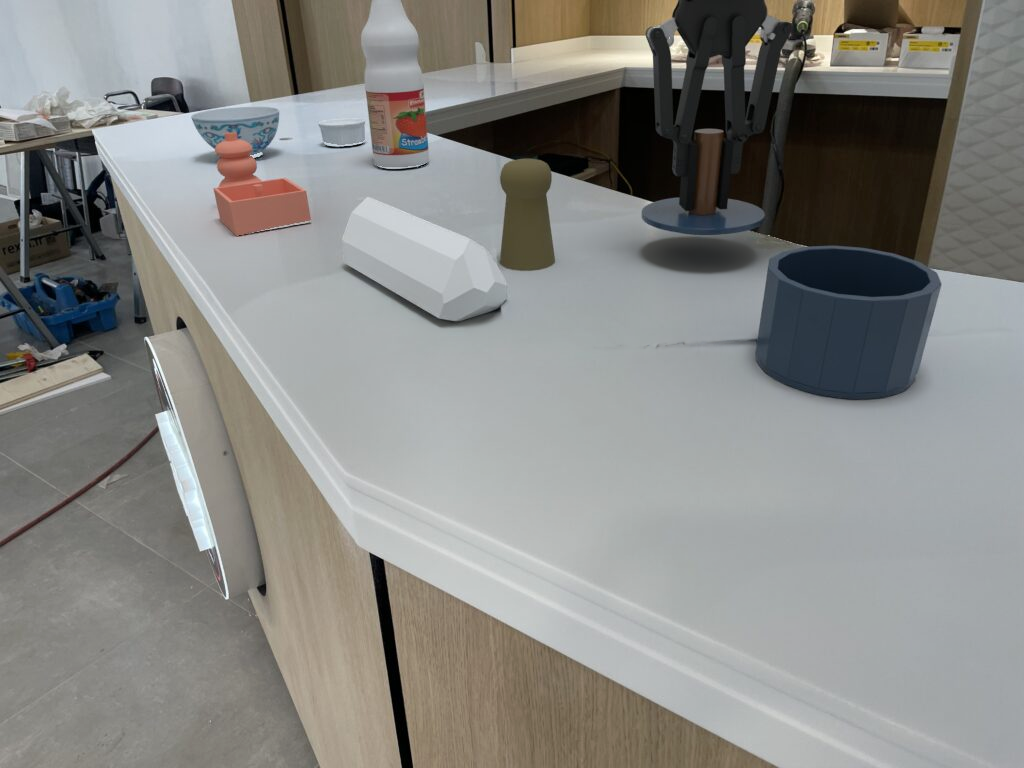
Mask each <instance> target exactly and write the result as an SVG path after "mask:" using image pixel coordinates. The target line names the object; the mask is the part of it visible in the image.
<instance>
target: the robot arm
mask: <svg viewBox="0 0 1024 768" xmlns="http://www.w3.org/2000/svg"><path fill="white" fill-rule="evenodd" d="M759 29H760V34H759V39H760V41H761V44H760V47H759V50H758V55H757V59H756V65H755V69H754V75H753V80H752V84H751V88H750V95H749V99H748V104H747V109H746V90H745V89H746V88H745V87H746V86H745V65H746V62H747V60H746V59H747V57H746V55H747V54H746V47H747V46H748V44H749V43H750V41H751V40H752V39H753V38H754V36H755V35H756V34H757V32H758V30H759ZM676 31H677V32H678V35H679V36H680V37H681V39H682V41H683V43H684V44H685V46H686V47H687V49H688V50H687V54H686V60H685V66H686V67H685V71H684V77H683V82H682V87H681V92H680V97H679V101H678V107H677V112H676V117H675V123H674V103H673V102H674V101H673V99H674V98H673V97H674V96H673V71H672V70H673V69H672V65H673V64H672V53H671V47H672V46H673V45H674V42H675V33H676ZM792 33H793V24H792V23H791V22H789V21H783V20H780V19H778V18H775V17H774V16H772V15H770V14H769V13H768V6H767V4H766V1H765V0H677V3H676V6H675V8H674V9H673V11H672V13H671V17H670V18H669V19H667V20H665V21H663V22H661V23H660V24H658V25H656V26H649V27H648V28H647V29H646V30H645V34H644V35H645V38H646V41H647V43H648V46H649V48H650V51H651V53H652V69H653V70H652V71H653V72H652V73H653V96H654V98H653V99H654V119H655V121H654V122H655V131H656V133H657V134H659V135H660V136H661V137H662V138H664V139H668V140H671V141H672V142H673V148H672V149H673V150H672V164H671V165H672V167H671V170H672V173H673V174H674V175H675V176H676V178H677V177H680V184H679V185H680V186H679V197H680V198H679V205H680V206H681V207H682V208H683V209H684V210H685V211H693V204H694V192H695V179H696V167H697V155H698V144H697V143H695V142H694V140H692V138H693V137H692V136H693V132H694V128H695V122H696V117H697V112H698V107H699V104H700V103H699V102H700V99H701V94H702V89H703V84H704V80H705V74H706V71H707V69H708V67H709V63H710V59H712V58H714V57H717V56H721V64H722V67H723V87H724V90H723V91H724V112H725V113H724V117H725V118H724V119H725V134H726V137H723V146H722V157H721V167H720V177H719V187H718V198H717V208H719V209H727V204H728V199H729V193H730V184H731V175H738V174H739V172H740V170H741V167H742V157H743V148H744V147H743V146H744V143H746V142H747V140H748V139H749V137H751V136H753V135H755V134H756V135H759V134H761V133H763V132H764V131H765V128H766V124H767V118H768V114H769V110H770V104H771V99H772V95H773V92H774V91H773V90H774V86H775V81H776V77H777V72H778V69H779V68H778V67H779V63H780V58H781V53H782V50H783V48H784V47H785V44H786V43H787V41H788V39H789V37H790V36H791V34H792Z"/></svg>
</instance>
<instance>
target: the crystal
mask: <svg viewBox="0 0 1024 768" xmlns="http://www.w3.org/2000/svg"><path fill="white" fill-rule="evenodd" d="M341 249H342V256H343V257H342V258H343V259H342V260H343V263H344V264H345V265H347V266H348V267H350V268H352V269H354V270H356V271H357V272H359V273H361V274H362V275H364V276H366V277H367V278H369V279H371V280H373V281H374V282H376V283H377V284H379V285H381V286H383V287H384V288H386V289H388V290H389V291H391V292H393V293H394V294H396V295H398V296H400V297H402V298H403V299H405V300H407V301H408V302H410V303H412V304H413V305H415V306H417V307H419V308H420V309H422V310H423V311H425V312H427V313H429V314H430V315H432V316H434V317H436V318H437V319H440V320H445V321H453V322H461V321H464V320H468V319H472V318H475V317H477V316H481V315H484V314H488V313H491V312H493V311H496V310H497V309H499V308H500V307H501V306H502V304H504V302H505V301H506V300H507V299H508V287H509V285H508V283H507V281H506V278H505V276H504V274H503V273H502V271H501V270H500V268H499V266H498V264H497V262H496V261H495V259H494V258H493V256H492V255H491V253H490V252H489V250H487V249H486V248H485V247H483V246H482V245H481V244H479V243H478V242H476V241H475V240H473V239H472V238H470V237H467V236H464V235H463V234H460V233H458V232H455V231H453V230H450V229H447V228H445V227H444V226H440V225H438V224H435V223H434V222H430V221H428V220H425V219H423V218H422V217H420V216H419V217H418V216H417V215H414V214H412V213H408V212H406V211H404V210H401V209H399V208H398V207H397V208H396V207H395V206H392V205H390V204H387V203H385V202H382V201H380V200H377V199H375V198H372V197H371V196H367V197H365V198H364V199H363V201H361V203H360V204H358V205H357V206H356V207H355V208H354V209H353V210H352V211H351V213H350V216H349V218H348V221H347V225H346V227H345V229H344V232H343V235H342V238H341Z"/></svg>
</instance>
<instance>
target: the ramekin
mask: <svg viewBox="0 0 1024 768" xmlns="http://www.w3.org/2000/svg"><path fill="white" fill-rule="evenodd" d="M317 124H318V127H319V129H320V133H321V138H322V142H323V141H324V142H326V143H331V144H337V145H345V144H353V143H359V142H363V141H364V140H365V141H366V133H365V132H366V131H365V130H366V129H365V125H366V120H365V119H363V118H360V117H359V118H358V117H341V118H331V119H325V120H324V119H323V120H321V121H319V122H318V123H317Z"/></svg>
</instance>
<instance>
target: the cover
mask: <svg viewBox="0 0 1024 768" xmlns="http://www.w3.org/2000/svg"><path fill="white" fill-rule="evenodd" d="M693 135H694V136H693V141H694V142H695V143H697V144H698V155H697V167H696V179H695V192H694V204H693V211H685V210H684V209H683V208H682V207H681V206H680V205H679V198H680V196H679V197H671V198H665V199H660V200H656V201H653V202H650V203H648V204H646V205H644V207H643V208H642V209H641V215H640V216H641V217H640V218H641V220H642V221H643V222H644V223H645V224H647V225H649V226H651V227H653V228H656V229H659V230H662V231H667V232H670V233H671V232H672V233H676V234H677V233H678V234H683V235H692V236H720V235H730V234H738V233H743V232H748V231H751V230H754V229H757V228H758V227H760V226H762V224H764V222H765V217H766V214H765V212H764V210H763V209H762V208H760V207H759V206H757V205H755V204H753V203H750V202H746V201H743V200H738V199H732V198H728V204H727V209H719V208H717V198H718V187H719V177H720V167H721V157H722V146H723V138H724V135H725V131H724V130H723V129H718V128H699V129H695V130H694V134H693Z"/></svg>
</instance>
